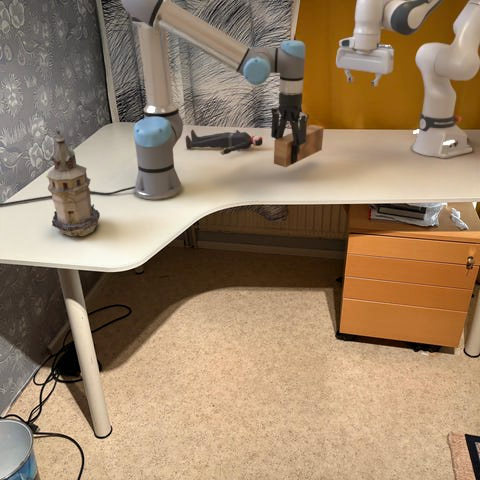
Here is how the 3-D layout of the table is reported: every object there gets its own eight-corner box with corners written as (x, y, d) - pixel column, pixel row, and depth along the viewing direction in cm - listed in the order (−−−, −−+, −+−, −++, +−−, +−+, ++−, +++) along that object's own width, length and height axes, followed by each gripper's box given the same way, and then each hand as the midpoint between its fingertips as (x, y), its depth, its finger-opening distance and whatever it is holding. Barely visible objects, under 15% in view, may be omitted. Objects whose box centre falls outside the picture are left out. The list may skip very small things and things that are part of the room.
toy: (197, 123, 225) (267, 123, 219) (198, 137, 228) (268, 138, 222) (178, 143, 203) (256, 144, 197) (180, 159, 206) (257, 160, 200)
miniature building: (80, 214, 164) (63, 117, 149) (111, 225, 157) (96, 125, 142) (44, 231, 154) (22, 130, 140) (75, 244, 147) (55, 139, 133)
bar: (285, 167, 179) (287, 143, 175) (273, 163, 182) (274, 140, 178) (321, 149, 194) (323, 127, 190) (310, 146, 197) (311, 124, 193)
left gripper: (321, 94, 169) (315, 164, 180) (275, 85, 179) (272, 151, 190) (308, 99, 164) (302, 170, 175) (261, 89, 174) (259, 157, 185)
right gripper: (399, 43, 176) (393, 86, 182) (344, 38, 187) (341, 78, 194) (390, 46, 171) (385, 90, 178) (335, 40, 183) (332, 81, 190)
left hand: (287, 160), depth 183 cm, fingers closed on bar, 5 cm apart
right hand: (362, 84), depth 186 cm, fingers open, 8 cm apart
